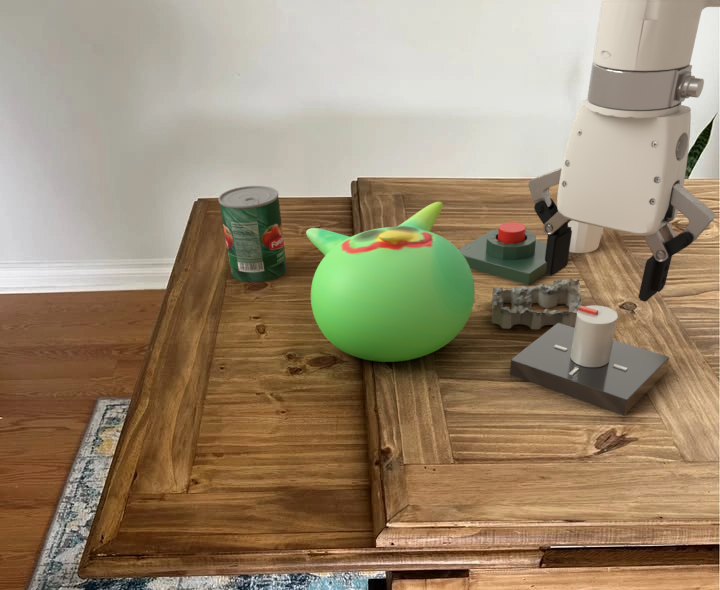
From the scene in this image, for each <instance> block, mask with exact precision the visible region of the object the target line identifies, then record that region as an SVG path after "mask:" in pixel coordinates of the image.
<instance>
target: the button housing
mask: <svg viewBox="0 0 720 590" xmlns="http://www.w3.org/2000/svg"><path fill="white" fill-rule="evenodd" d="M546 246H547V241H544V240H543V241H542V240H538V239H537V235H536V234H535V233H533V232H532V231H530V230H529V229H526V233H525V240H524V241H523V242H519V243H504V242H500V241H498V229H492V230H489V231H487V232H486V233H484V234H482V235H481V236H479V237H477V238H476V239H474V240H472V241H470V242H469V243H466V244H465V245H464V246H462V247H460V248H457V249H458V250H459V251H460V252H461V253H462V255H463V256H464V257H465V259H466V261H467V263H468V265H469V267H470V269H471V270H474V271H478V272H482V273H485V274H489V275H491V276H495V277H500V278H503V279H506V280H510V281H514V282H516V283H520V284H524V285H528V286H529V285H531V284H532V283H534V282H535V281H536V280H538V279H539V278H541V277H542V276H544V275H546V267H547V262H545V254H546Z"/></svg>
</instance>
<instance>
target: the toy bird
mask: <svg viewBox="0 0 720 590" xmlns="http://www.w3.org/2000/svg"><path fill="white" fill-rule="evenodd" d="M443 205H444V203H443V202H441V201H435V202H432V203H430V204H428V205H427V206H425V207H424V208H422V209H420V210H419V211H417V212H416V213H414V214H413V215H412V216H410V217H409V218H408V219H406V220H405V221H403V222H402V223H400V224H398V225H397V226H387V227H385V226H384V227H379V228H374V229H369V230H366V231H362V232H360V233H357V234H354V235H351V236H349V235H345V234H342V233H338V232H335V231H332V230H327V229H324V228H319V227H310V228H308V229H307V230H306V232H305V234H306V236H307V239H308V240H309V241H310V242H311V243H312V244H313V246H315V247H316V248H317V249H318V250H319V251H320V252H321V254H322V255H324V257H323V258H322V259H321V260H320V263H319V264H318V266H317V268H316V270H315V272H314V275H313V277H312V282H311V286H310V287H311V288H310V304H311V310H312V314H313V318H314V320H315V322H316V325H317V326H318V328H319V330H320V332H321V333H322V334H323V336H324V337H325V338H326V340H328V341H329V342H330V343H331V345H333V346H334V347H335V348H338V350H340V351H342V352H344V353H346V354H347V355H350V356H352V357H355V358H357V359H362V360H365V361H371V362H372V361H373V362H378V363H379V362H380V363H395V362H405V361H411V360H415V359H418V358H421V357H424V356H427V355H430V354H432V353H435V352H436V351H438V350H440V349H442V348H444V347H445V346H446V345H448V344H450V343H451V342H452V341H453V340H454V339H455V338H456V337H457V336H458V335H459V334H460V333H461V331H463V329H464V327H465V326H466V324H467V322H469V321H468V320H469V319H470V317H471V313H472V311H473V308H474V304H475V294H476V293H475V292H476V291H475V289H476V288H475V281H474V276H473V272H472V269H471V268H470V267H469V265H468V263H467V261H466V259H465V257H464V256H463V255H462V253H461V252H460V251H459V250H458V249H459V248H457V246H455V244H453V243H452V242H451V241H449V240H448V239H447V238H445V237H443V236H441V235H439V234H437V233H434V232H432V231H431V230H432V228H433V226H434V225H435V223H436V221H437V219H438V218H439V216H440V214H441V212H442V209H443V207H444V206H443Z"/></svg>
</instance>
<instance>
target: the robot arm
mask: <svg viewBox="0 0 720 590" xmlns="http://www.w3.org/2000/svg"><path fill="white" fill-rule="evenodd" d="M599 8H600V9H599V15H598V22H597V29H596V34H595V35H596V36H595V44H594V50H593V56H592V64H591V70H590V78H589V84H588V91H587V98H585V99H584V100H582V101H581V102H580V103H579V106H578V109H577V111H576V114H575V117H574V120H573V123H572V126H571V129H570V132H569V136H568V140H567V144H566V148H565V152H564V156H563V161H562V165H561V167H559V168H557V169H554V170H552V171H548V172H547V173H544V174H541V175H538V176H536V177H534V178H532V179H530V180H529V182H528V189H529V193H530V195H531V198H532V201H533V202H534V207H533V209H534V211H535V214H536V215H537V216H538V218H539V220H540V221H541V223H542V225H543V226H542V228H543V232H544V233H545V235H547V239H546V242H547V246H546V254H545V262H547V267H546V273H545V275H547V276H551V277H552V276H554V275H556V274H558V273H559V272H560V271H562V270H564V268H566V267H567V266H568V262H569V257H570V256H569V255H570V252H569V249H570V242H571V235H572V230H571V227H568V223H569V222H570V221H571V220H573V221H576V222H580V223H585V224H589V225H593V226H597V227H602V228H603V229H607V230H610V231H611V230H612V231H615V232H621V233H624V234H629V235H633V236H641V237H643V239H644V240H645V243H646V244H647V246H648V249H649V250H650V252H651V254H652V255H651V256H650V257H649V258H648V259H646V262H645V265H644V270H643V275H642V278H641V282H640V283H641V284H640V288H639V293H638V299H639V301H641V302H642V301H643V302H645V303H646V302H647V301H649V300H650V299H651V298H652V297H653V296H655V295H656V294H657V293H660V292H661V291H662V290H663V289H664V288H665V285H666V283H667V279H668V275H669V270H670V266H671V262H672V258H673V256H674V255H676V254H677V253H680V252H681V251H683V250H684V249H686V248H687V247H689V246H690V245H691V244H693V243H694V242H695V241H697V239H698V238H699V237H700V235H701V234H702V233H703V232H704V231H705V230H706V229H707V228H708V227H709V225H710V224H711V223H712V222H713V221H714V219H715V217H716V215H715V214H716V213H715V212H714V211H713V210H712V209H710V207H708V206H707V205H706V204H705V203H703V202H702V201H701V200H700V199H698V197H696V196H695V195H694V194H693V193H691V192H690V191H689V190H688V189H687V188H686V187H684V185H685V179H686V172H687V166H688V158H689V149H690V141H691V139H690V138H691V125H692V124H691V119H692V116H691V115H692V112H691V110H692V109H691V107H690V106H688V105H682V102H685V99H689V98H696V99H697V98H700V96H701V94H702V92H703V89H704V85H705V80H704V78H701V77H700V78H698V77H696V76H695V75H692V69H693V65H692V64H691V60H692V58H693V57H692V56H693V53H694V48H695V42H696V38H697V34H698V28H699V24H700V20H701V16H702V12H703V11H704V9H706V8H720V0H601V1H600V7H599ZM557 185H558V187H557V196H556V202H555V201H554V199H552V197H551V193H550V188H551V187H554V186H557ZM678 213H680V214H682V215H683V216H684V217H685V218H686V219H687V220H688V224H687V226H686V227H685V229H684V230H683V231H682V232H680V233H679V234H677V235H676V232H675V231H674V229H673V227H672V226H671V222H673V221H674V220H675V219H676V218H677V215H678Z"/></svg>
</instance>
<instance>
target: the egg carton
mask: <svg viewBox="0 0 720 590" xmlns="http://www.w3.org/2000/svg"><path fill="white" fill-rule="evenodd" d="M491 294H492V300H491V304H492V314H491V323H492V324H496V325H498V326H500V327H501V329H511V328H512V327H513V326H515V325H524V326H527V327H529V328H530V330H541V328H542V327H544V326H554V325H556V324H557V323H561V324H564V325H567V326H570V327H575V322H576V315H577V311H578V309H579V307H580V306H583V301H582V295H581V283H580V279H578V278H577V279H572V278H566V279H563V278H561V279H557V280H553V282H552V283H551V284H543V283H539V284H538V285H534V286H525V285H521V286H515V287H511V288H503V287H494V286H493V288H492V293H491ZM505 303H509V304H511V308H510V307H509V306H504V304H505ZM533 304H538V305H539V306H540V307H543V308H545V309H543V310H542V311H536V310H535V309H532V305H533ZM558 305H566V306H567V307H568V311H559V310H558V309H553V310H549V308H555V307H557V306H558Z"/></svg>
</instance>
